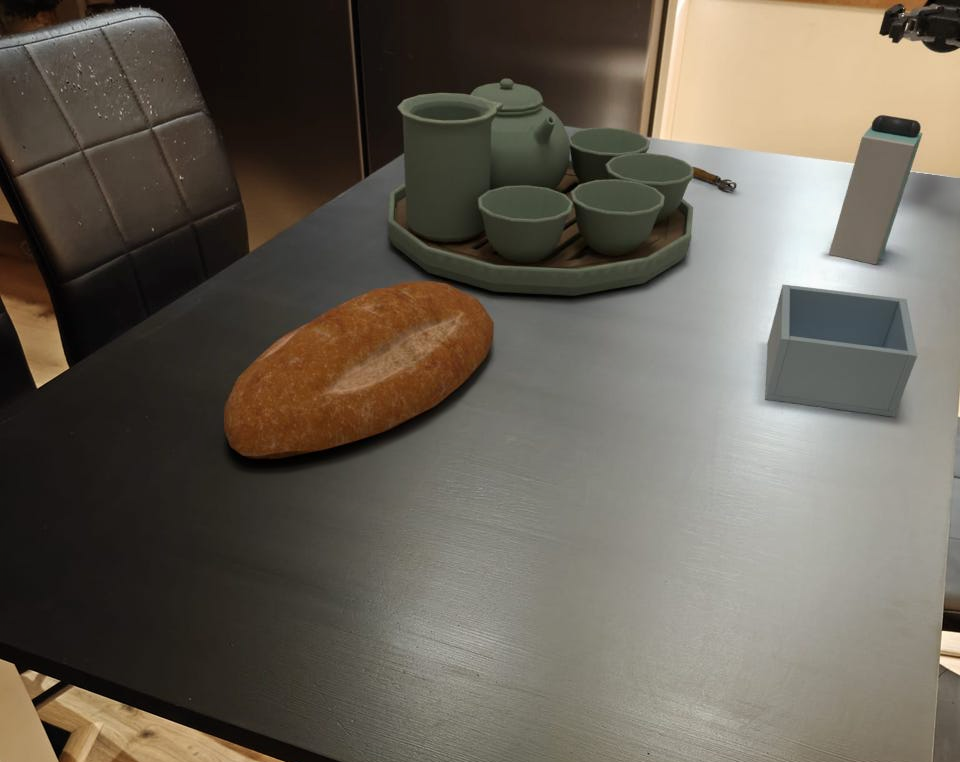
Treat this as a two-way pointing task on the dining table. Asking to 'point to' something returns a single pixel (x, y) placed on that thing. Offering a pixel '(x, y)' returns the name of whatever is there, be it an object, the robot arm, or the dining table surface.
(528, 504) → the dining table surface
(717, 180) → the can opener
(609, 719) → the dining table surface
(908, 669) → the dining table surface
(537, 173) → the tea set
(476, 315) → the bread
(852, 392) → the basket
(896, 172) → the knobbed tall block
